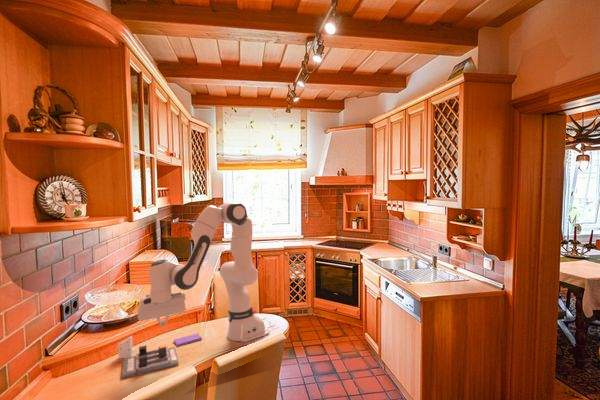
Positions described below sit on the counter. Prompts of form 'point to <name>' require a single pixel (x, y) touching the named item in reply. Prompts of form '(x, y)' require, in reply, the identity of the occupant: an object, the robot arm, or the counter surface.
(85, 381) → the counter surface
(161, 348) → the breaker
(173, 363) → the breaker panel
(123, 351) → the white angled block
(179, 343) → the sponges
